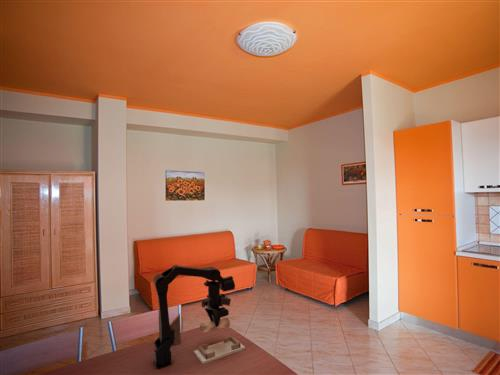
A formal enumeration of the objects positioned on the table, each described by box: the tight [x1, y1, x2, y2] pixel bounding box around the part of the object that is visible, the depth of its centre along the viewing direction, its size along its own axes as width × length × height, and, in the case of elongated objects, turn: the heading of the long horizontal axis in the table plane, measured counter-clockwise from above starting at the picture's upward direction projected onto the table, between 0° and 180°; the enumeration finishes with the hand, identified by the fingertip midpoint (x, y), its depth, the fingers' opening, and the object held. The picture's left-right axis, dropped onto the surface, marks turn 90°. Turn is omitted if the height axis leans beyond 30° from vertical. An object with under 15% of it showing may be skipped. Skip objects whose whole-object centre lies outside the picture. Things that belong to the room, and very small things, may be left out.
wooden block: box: [158, 313, 182, 345], centre depth 151 cm, size 4×11×18 cm, turn 96°
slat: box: [199, 317, 231, 334], centre depth 144 cm, size 14×4×3 cm, turn 115°
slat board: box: [193, 335, 246, 365], centre depth 142 cm, size 22×11×3 cm, turn 122°
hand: (215, 325), depth 144 cm, fingers closed on slat, 4 cm apart
